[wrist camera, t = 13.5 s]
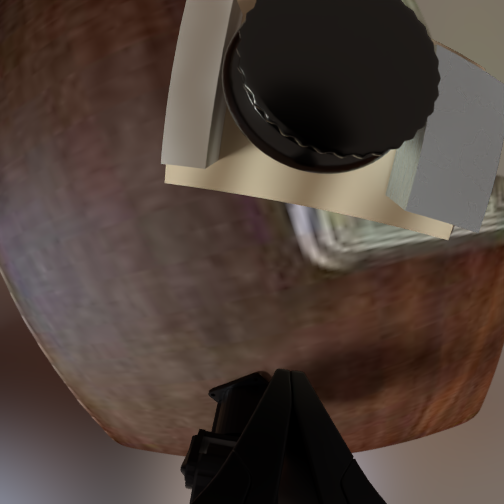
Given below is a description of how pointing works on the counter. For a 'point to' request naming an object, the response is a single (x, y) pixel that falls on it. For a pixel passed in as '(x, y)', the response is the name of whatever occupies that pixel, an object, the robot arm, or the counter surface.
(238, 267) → the counter surface
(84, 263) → the counter surface
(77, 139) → the counter surface
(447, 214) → the sliding jaw
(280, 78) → the supplement bottle
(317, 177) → the vise
